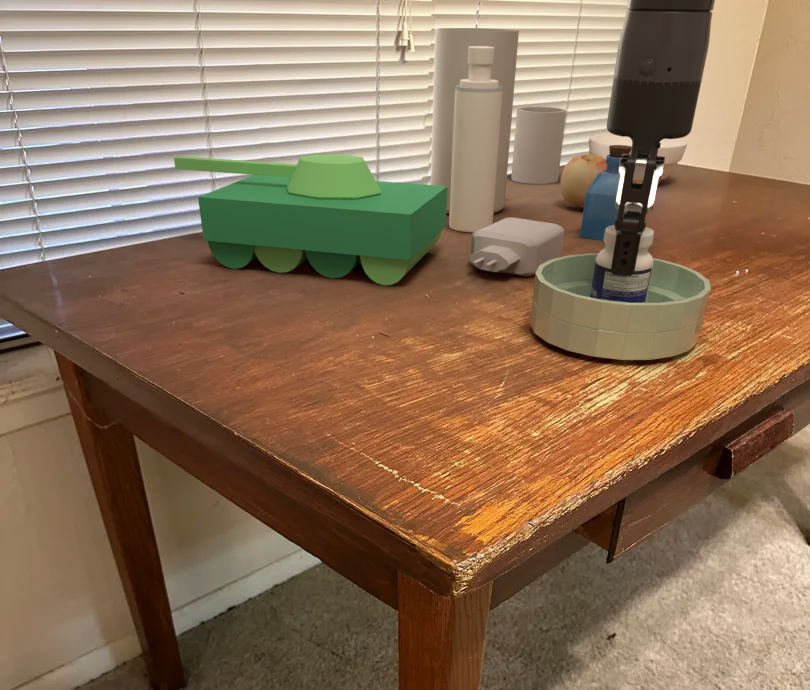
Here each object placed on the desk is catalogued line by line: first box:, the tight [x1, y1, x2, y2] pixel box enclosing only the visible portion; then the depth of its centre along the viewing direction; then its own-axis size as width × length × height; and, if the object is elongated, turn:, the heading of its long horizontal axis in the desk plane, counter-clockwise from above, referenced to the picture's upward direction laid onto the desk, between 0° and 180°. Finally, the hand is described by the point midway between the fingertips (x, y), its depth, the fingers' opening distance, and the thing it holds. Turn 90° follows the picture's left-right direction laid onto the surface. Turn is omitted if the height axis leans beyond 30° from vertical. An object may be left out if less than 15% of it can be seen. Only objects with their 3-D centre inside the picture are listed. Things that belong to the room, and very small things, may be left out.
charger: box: [468, 216, 565, 277], centre depth 97 cm, size 5×9×15 cm
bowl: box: [588, 132, 688, 181], centre depth 146 cm, size 18×18×7 cm
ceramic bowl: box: [529, 253, 712, 361], centre depth 78 cm, size 17×17×6 cm
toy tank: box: [173, 153, 447, 286], centre depth 99 cm, size 18×12×35 cm
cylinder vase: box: [430, 27, 520, 215], centre depth 120 cm, size 12×12×25 cm
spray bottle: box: [448, 46, 503, 234], centre depth 109 cm, size 7×7×25 cm
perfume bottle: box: [579, 145, 632, 242], centre depth 110 cm, size 6×6×12 cm
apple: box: [560, 153, 608, 208], centre depth 126 cm, size 9×9×8 cm
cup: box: [510, 106, 567, 185], centre depth 145 cm, size 9×9×12 cm
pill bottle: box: [590, 225, 655, 303], centre depth 77 cm, size 6×6×10 cm
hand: (624, 262), depth 76 cm, fingers open, 8 cm apart
